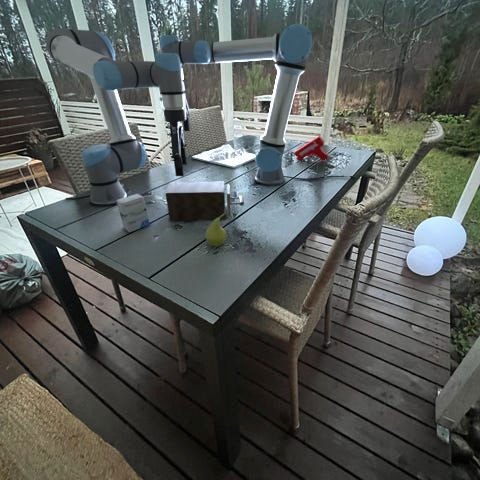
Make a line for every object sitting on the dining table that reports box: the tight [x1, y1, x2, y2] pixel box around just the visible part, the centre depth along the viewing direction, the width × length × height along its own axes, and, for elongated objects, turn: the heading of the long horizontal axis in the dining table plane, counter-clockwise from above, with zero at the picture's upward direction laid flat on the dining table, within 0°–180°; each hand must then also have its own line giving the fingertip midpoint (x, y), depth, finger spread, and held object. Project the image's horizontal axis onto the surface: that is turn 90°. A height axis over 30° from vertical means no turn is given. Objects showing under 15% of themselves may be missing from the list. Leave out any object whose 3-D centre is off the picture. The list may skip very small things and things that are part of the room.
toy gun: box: [294, 135, 329, 163], centre depth 172 cm, size 18×4×15 cm
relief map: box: [192, 143, 256, 169], centre depth 179 cm, size 27×35×5 cm
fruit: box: [204, 210, 227, 248], centre depth 90 cm, size 7×8×12 cm
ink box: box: [116, 193, 151, 233], centre depth 100 cm, size 8×5×12 cm, turn 135°
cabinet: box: [165, 180, 226, 222], centre depth 109 cm, size 22×11×12 cm, turn 92°
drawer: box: [226, 183, 245, 218], centre depth 109 cm, size 26×10×10 cm, turn 92°
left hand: (181, 169), depth 103 cm, fingers open, 13 cm apart
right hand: (181, 134), depth 126 cm, fingers open, 13 cm apart
